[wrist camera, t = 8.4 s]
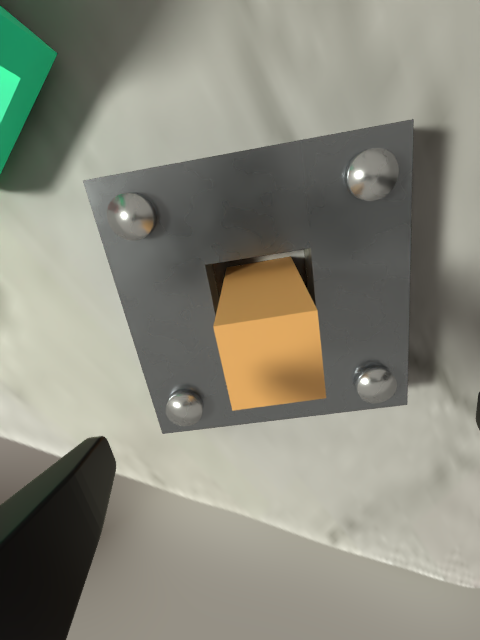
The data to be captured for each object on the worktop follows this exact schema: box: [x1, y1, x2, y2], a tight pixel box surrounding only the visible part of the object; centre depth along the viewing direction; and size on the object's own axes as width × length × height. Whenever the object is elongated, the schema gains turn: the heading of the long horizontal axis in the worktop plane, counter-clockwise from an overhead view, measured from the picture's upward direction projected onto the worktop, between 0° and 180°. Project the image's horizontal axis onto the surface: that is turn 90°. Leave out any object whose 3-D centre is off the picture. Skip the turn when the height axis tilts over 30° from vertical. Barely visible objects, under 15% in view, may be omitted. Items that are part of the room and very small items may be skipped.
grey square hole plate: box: [83, 119, 414, 434], centre depth 18 cm, size 14×14×3 cm
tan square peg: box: [213, 256, 326, 411], centre depth 16 cm, size 4×4×8 cm
